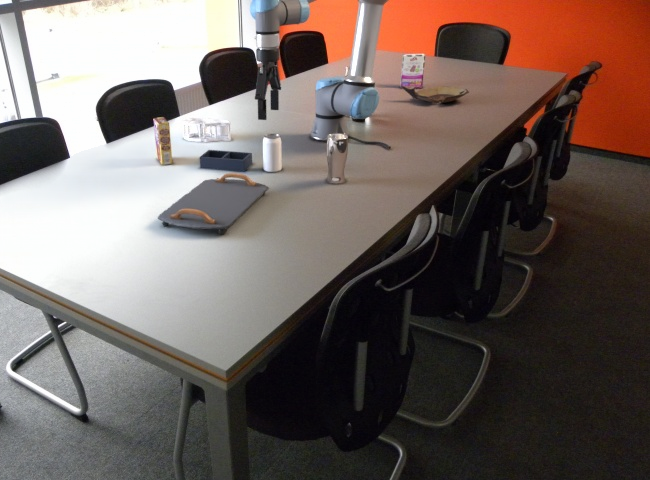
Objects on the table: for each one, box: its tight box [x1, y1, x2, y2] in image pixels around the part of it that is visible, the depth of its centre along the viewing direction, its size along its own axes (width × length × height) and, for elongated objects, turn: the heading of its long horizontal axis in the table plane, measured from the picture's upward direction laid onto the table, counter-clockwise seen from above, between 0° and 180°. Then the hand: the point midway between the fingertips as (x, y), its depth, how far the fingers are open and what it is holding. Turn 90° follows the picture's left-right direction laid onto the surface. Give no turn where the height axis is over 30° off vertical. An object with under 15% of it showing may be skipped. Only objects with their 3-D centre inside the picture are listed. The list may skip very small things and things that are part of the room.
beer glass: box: [325, 134, 349, 185], centre depth 200 cm, size 7×7×15 cm
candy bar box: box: [400, 53, 426, 89], centre depth 315 cm, size 11×5×16 cm, turn 80°
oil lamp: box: [400, 85, 470, 104], centre depth 291 cm, size 22×30×8 cm
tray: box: [198, 149, 253, 173], centre depth 220 cm, size 17×9×4 cm, turn 71°
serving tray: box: [157, 172, 270, 236], centre depth 184 cm, size 39×23×6 cm, turn 158°
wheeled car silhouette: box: [181, 117, 232, 143], centre depth 250 cm, size 20×11×7 cm, turn 66°
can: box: [262, 133, 283, 173], centre depth 213 cm, size 6×6×12 cm
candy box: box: [153, 116, 173, 166], centre depth 224 cm, size 9×4×15 cm, turn 20°
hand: (268, 114), depth 207 cm, fingers open, 13 cm apart
